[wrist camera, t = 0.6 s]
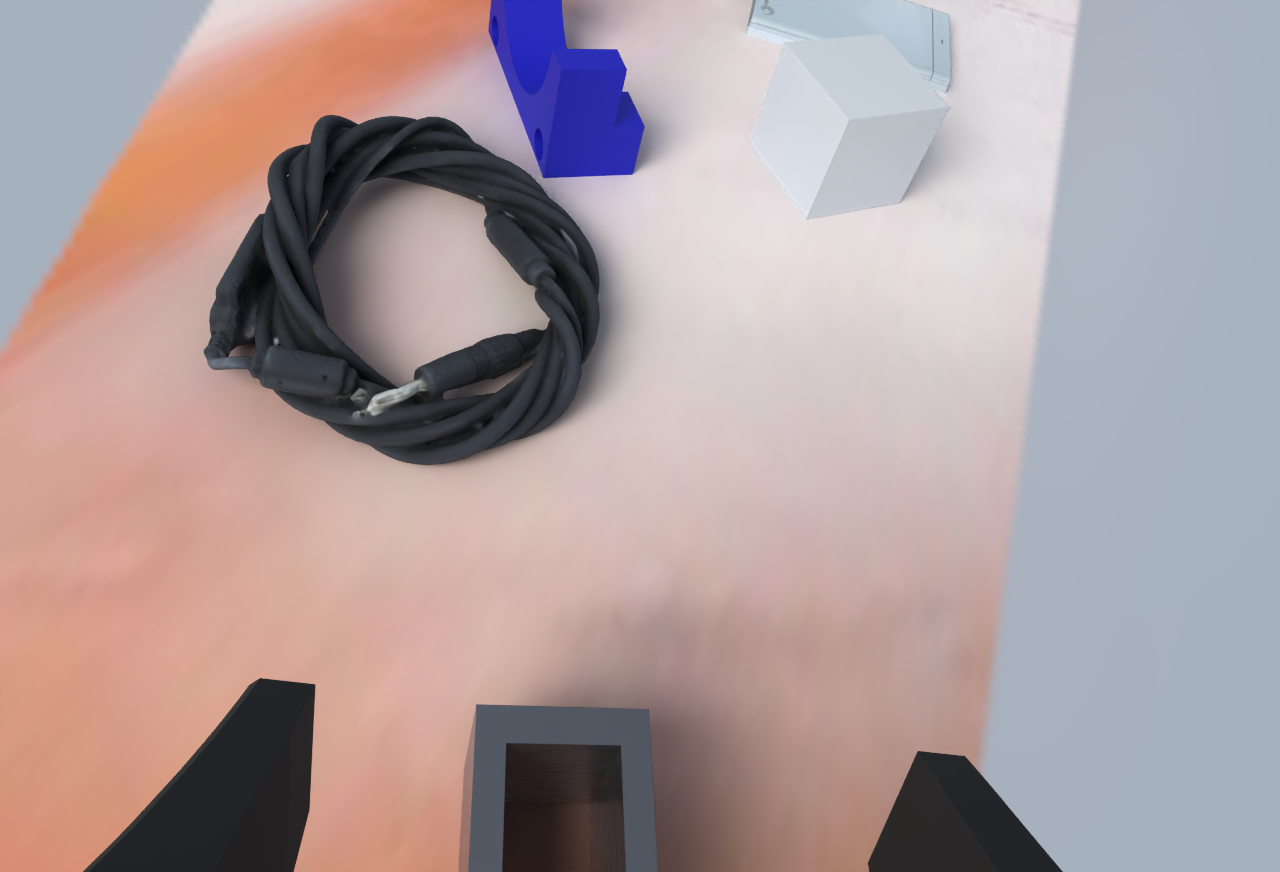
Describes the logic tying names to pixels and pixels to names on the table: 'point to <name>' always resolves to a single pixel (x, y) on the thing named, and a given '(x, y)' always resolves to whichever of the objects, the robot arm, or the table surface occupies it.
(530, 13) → the cable clip
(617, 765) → the grey open storage bin
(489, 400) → the cable
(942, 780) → the robot arm
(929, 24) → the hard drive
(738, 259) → the table surface
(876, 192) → the light grey cube
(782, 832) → the table surface
